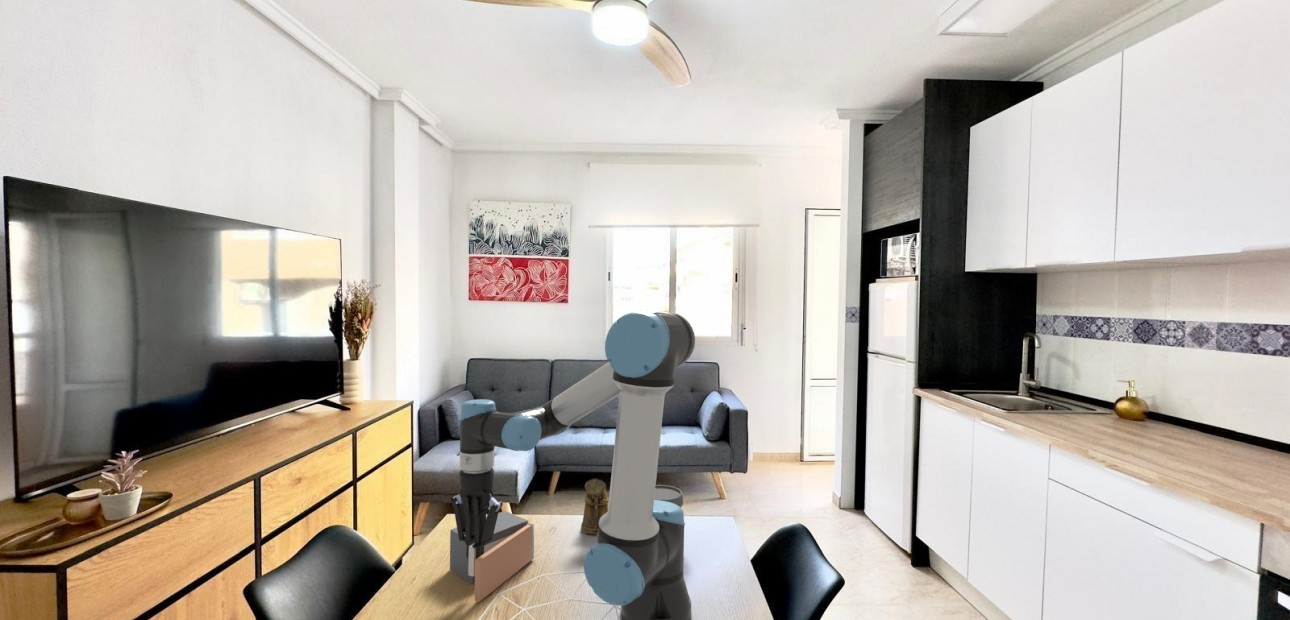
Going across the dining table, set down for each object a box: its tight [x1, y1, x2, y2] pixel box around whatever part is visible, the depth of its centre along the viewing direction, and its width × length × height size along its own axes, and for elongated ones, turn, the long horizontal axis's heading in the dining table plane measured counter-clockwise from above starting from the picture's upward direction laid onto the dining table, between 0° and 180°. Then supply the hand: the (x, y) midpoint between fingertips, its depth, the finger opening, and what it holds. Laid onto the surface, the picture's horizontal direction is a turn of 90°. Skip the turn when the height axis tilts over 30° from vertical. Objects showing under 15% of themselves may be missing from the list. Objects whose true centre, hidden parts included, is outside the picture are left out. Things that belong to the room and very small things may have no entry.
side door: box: [474, 522, 535, 603], centre depth 122 cm, size 2×22×9 cm, turn 159°
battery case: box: [449, 510, 529, 585], centre depth 129 cm, size 10×16×10 cm, turn 141°
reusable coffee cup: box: [654, 484, 684, 509], centre depth 140 cm, size 13×13×15 cm
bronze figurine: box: [580, 477, 609, 536], centre depth 149 cm, size 9×14×18 cm, turn 2°
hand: (474, 573), depth 115 cm, fingers closed
